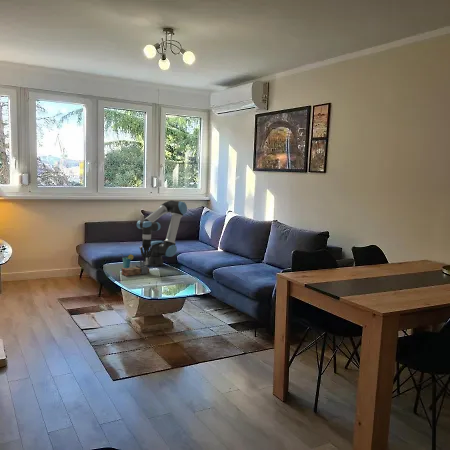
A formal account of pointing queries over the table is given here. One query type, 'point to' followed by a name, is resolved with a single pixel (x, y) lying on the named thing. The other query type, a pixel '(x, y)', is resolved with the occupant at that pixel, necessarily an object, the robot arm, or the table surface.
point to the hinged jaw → (132, 271)
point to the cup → (126, 260)
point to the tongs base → (130, 268)
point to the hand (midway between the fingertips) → (145, 264)
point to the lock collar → (143, 268)
